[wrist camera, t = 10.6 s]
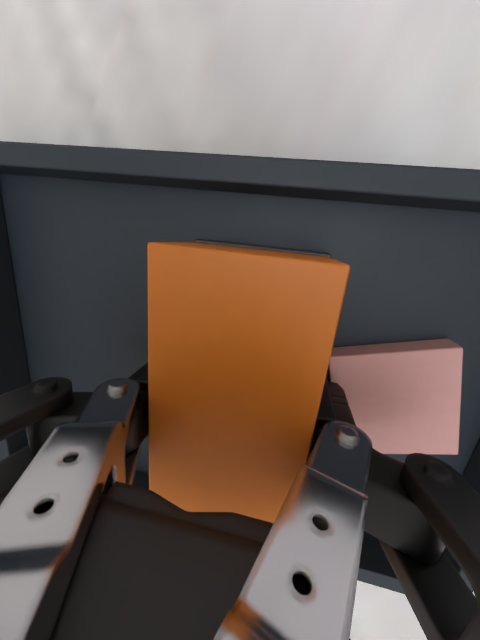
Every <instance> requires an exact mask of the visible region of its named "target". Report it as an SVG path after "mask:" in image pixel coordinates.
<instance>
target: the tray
mask: <svg viewBox="0 0 480 640" xmlns="http://www.w3.org/2000/svg"><path fill="white" fill-rule="evenodd" d="M195 239H206V240H215V241H224V242H234V243H243V244H252V245H261V246H271V247H280V248H289V249H298V250H308V251H317V252H326V253H330V254H331V255H332V258H333V259H335V260H338V261H340V262H343V263H345V264H348V265H350V272H349V276H348V281H347V285H346V290H345V294H344V299H343V303H342V308H341V312H340V317H339V321H338V326H337V330H336V335H335V339H334V343H333V347H346V346H358V345H371V344H383V343H396V342H409V341H421V340H434V339H446V338H447V339H450V340H451V341H453V342H455V343H456V344H458V345H459V346H461V347H462V348H463V363H462V384H461V406H460V427H459V449H458V454H457V455H449V454H427V455H430V456H433V457H435V458H437V459H439V460H441V461H443V462H445V463H447V464H448V465H450V466H451V467H453V468H454V469H455V470H456V471H457V472H459V473H460V474H461V475H462V476H463V477H464V478H465V479H466V480H467V481H468V482H469V484H470V485H471V486H472V487H473V488H474V489H475V490H476V491H477V492H478V493H479V494H480V170H476V169H459V168H442V167H426V166H409V165H392V164H375V163H358V162H341V161H324V160H307V159H290V158H273V157H257V156H240V155H223V154H206V153H189V152H172V151H155V150H138V149H121V148H104V147H88V146H71V145H54V144H37V143H20V142H3V141H0V395H2V394H4V393H7V392H9V391H12V390H14V389H17V388H19V387H22V386H24V385H27V384H29V383H32V382H34V381H37V380H40V379H44V378H50V377H63V378H67V379H69V380H70V381H71V382H72V389H73V392H94V390H95V389H96V388H97V386H98V385H100V384H101V383H103V382H105V381H108V380H111V379H115V378H129V377H130V376H131V375H132V374H134V373H135V372H136V371H137V370H138V369H140V368H141V367H142V366H144V364H146V363H147V362H148V254H147V244H148V243H149V242H195ZM326 376H327V380H328V371H327V375H326ZM27 445H29V443H28V438H27V432H26V428H25V429H23V430H21V431H19V432H17V433H16V434H14V435H12V436H10V437H8V438H6V439H4V440H2V441H0V461H1V460H3V459H4V458H6V457H8V456H10V455H11V454H13V453H15V452H17V451H18V450H20V449H22V448H23V447H25V446H27ZM384 455H387V456H389V457H391V458H394V459H396V460H398V461H401V462H403V463H404V462H405V459H406V457H407V456H408V455H409V454H384ZM133 486H137V487H140V488H144V489H148V490H149V439H146V438H145V439H144V440H143V442H142V443H141V453H140V457H139V461H138V465H137V469H136V473H135V477H134V481H133ZM443 551H444V552H445V554H446V555H447V557H448V558H449V560H450V561H451V563H452V564H453V565H454V567H455V568H456V570H457V571H458V573H459V574H460V576H461V577H462V579H463V580H464V581H465V583H466V584H467V586H468V587H469V589H470V590H471V592H473V588H472V586H471V584H470V582H469V580H468V578H467V577H466V575H465V574H464V572H463V571H462V569H461V568H460V567H459V565H458V564H457V562H456V561H455V559H454V558H453V557H452V555H451V554H450V552H449V551H448V549H447V548H446V547H445V548H444V550H443ZM357 580H359V581H362V582H366V583H369V584H372V585H376V586H379V587H383V588H386V589H389V590H393V591H396V592H399V593H403V594H405V593H404V591H403V589H402V587H401V585H400V583H399V581H398V579H397V577H396V575H395V573H394V571H393V569H392V567H391V565H390V563H389V561H388V559H387V557H386V555H385V553H384V551H383V549H382V546H381V544H380V541H379V539H377V538H376V537H374V536H372V535H370V534H369V533H367V532H365V531H364V534H363V541H362V548H361V556H360V563H359V570H358V578H357Z"/></svg>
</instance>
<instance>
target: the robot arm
mask: <svg viewBox="0 0 480 640" xmlns="http://www.w3.org/2000/svg"><path fill="white" fill-rule="evenodd" d="M348 405H349V404H348V401H347V399H346V395H345V392H344V389H343V388H342V387H341V386H340V385H339V384H338V383H335V382H331V381H328V380H327V376H326V379H325V384H324V388H323V393H322V397H321V402H320V406H319V411H318V415H317V420H316V424H315V429H314V433H313V438H312V442H311V446H310V451H309V455H308V460H307V464H305V463H303V464H302V465H301V467H300V469H299V471H298V473H297V475H296V477H295V479H294V481H293V484H292V486H291V488H290V490H289V492H288V494H287V496H286V498H285V500H284V502H283V505H282V507H281V509H280V511H279V513H278V515H277V517H276V519H275V521H274V523H271V522H267V521H264V520H260V519H256V518H253V517H249V516H245V515H241V514H238V513H234V512H188V511H185V510H183V509H181V508H179V507H178V506H176V505H175V504H173V503H171V502H170V501H168V500H166V499H165V498H163V497H162V496H160V495H158V494H157V493H155V492H153V491H152V490H148V489H144V488H140V487H137V486H133V481H134V477H135V473H136V469H137V465H138V461H139V457H140V453H141V443H142V442H143V440H144V439H145V438H146V439H149V407H148V362H147V363H146V364H144V366H142V367H141V368H140V369H138V370H137V371H136V372H135V373H134V374H132V375H131V376H130V377H129V378H115V379H111V380H108V381H105V382H103V383H101V384H100V385H98V386H97V388H96V389H95V390H94V392H73V389H72V382H71V381H70V380H69V379H67V378H63V377H50V378H44V379H40V380H37V381H34V382H32V383H29V384H27V385H24V386H22V387H19V388H17V389H14V390H12V391H9V392H7V393H4V394H2V395H0V441H2V440H4V439H6V438H8V437H10V436H12V435H14V434H16V433H17V432H19V431H21V430H23V429H25V428H26V432H27V438H28V443H29V445H27V446H25V447H23V448H22V449H20V450H18V451H17V452H15V453H13V454H11V455H10V456H8V457H6V458H4V459H3V460H1V461H0V640H350V638H349V636H350V629H351V621H352V614H353V607H354V600H355V592H356V585H357V578H358V570H359V563H360V556H361V548H362V541H363V534H364V531H365V532H367V533H369V534H370V535H372V536H374V537H376V538H377V539H379V541H380V544H381V546H382V549H383V551H384V553H385V555H386V557H387V559H388V561H389V563H390V565H391V567H392V569H393V571H394V573H395V575H396V577H397V579H398V581H399V583H400V585H401V587H402V589H403V591H404V593H405V595H406V597H407V599H408V601H409V603H410V605H411V607H412V609H413V611H414V613H415V615H416V617H417V619H418V621H419V623H420V625H421V627H422V629H423V631H424V633H425V635H426V637H427V639H428V640H480V494H479V493H478V492H477V491H476V490H475V489H474V488H473V487H472V486H471V485H470V484H469V482H468V481H467V480H466V479H465V478H464V477H463V476H462V475H461V474H460V473H459V472H457V471H456V470H455V469H454V468H453V467H451V466H450V465H448V464H447V463H445V462H443V461H441V460H439V459H437V458H435V457H433V456H430V455H427V454H423V453H411V454H409V455H408V456H407V457H406V459H405V462H404V463H403V462H401V461H398V460H396V459H394V458H391V457H389V456H387V455H384V454H382V453H380V452H378V451H377V450H375V449H374V448H372V441H371V439H370V438H369V436H368V435H367V434H366V433H365V432H364V431H363V430H361V429H360V428H358V427H357V426H356V424H355V421H354V418H353V415H352V413H351V410H350V407H349V406H348ZM445 547H446V548H447V549H448V551H449V552H450V554H451V555H452V557H453V558H454V559H455V561H456V562H457V564H458V565H459V567H460V568H461V569H462V571H463V572H464V574H465V575H466V577H467V578H468V580H469V582H470V584H471V586H472V588H473V591H474V593H475V596H474V595H473V593H472V592H471V590H470V589H469V587H468V586H467V584H466V583H465V581H464V580H463V579H462V577H461V576H460V574H459V573H458V571H457V570H456V568H455V567H454V565H453V564H452V563H451V561H450V560H449V558H448V557H447V555H446V554H445V552H444V551H443V550H444V548H445Z"/></svg>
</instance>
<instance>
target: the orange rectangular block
mask: <svg viewBox="0 0 480 640" xmlns="http://www.w3.org/2000/svg"><path fill="white" fill-rule="evenodd" d="M147 254H148V407H149V490H152V491H153V492H155V493H157V494H158V495H160V496H162V497H163V498H165V499H166V500H168V501H170V502H171V503H173V504H175V505H176V506H178V507H179V508H181V509H183V510H185V511H188V512H234V513H238V514H241V515H245V516H249V517H253V518H256V519H260V520H264V521H267V522H271V523H274V521H275V519H276V517H277V515H278V513H279V511H280V509H281V507H282V505H283V502H284V500H285V498H286V496H287V494H288V492H289V490H290V488H291V486H292V484H293V481H294V479H295V477H296V475H297V473H298V471H299V469H300V467H301V465H302V464H303V463H305V464H307V460H308V455H309V451H310V446H311V442H312V438H313V433H314V429H315V424H316V420H317V415H318V411H319V406H320V402H321V397H322V393H323V388H324V384H325V379H326V375H327V370H328V366H329V361H330V357H331V352H332V348H333V343H334V339H335V335H336V330H337V326H338V321H339V317H340V312H341V308H342V303H343V299H344V294H345V290H346V285H347V281H348V276H349V272H350V265H348V264H345V263H343V262H340V261H338V260H335V259H333V258H332V255H331V254H330V253H326V252H317V251H308V250H298V249H289V248H280V247H271V246H261V245H252V244H243V243H234V242H224V241H215V240H206V239H195V242H149V243H148V244H147Z"/></svg>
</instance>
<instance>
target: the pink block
mask: <svg viewBox="0 0 480 640" xmlns="http://www.w3.org/2000/svg"><path fill="white" fill-rule="evenodd" d="M462 363H463V348H462V347H461V346H459V345H458V344H456V343H455V342H453V341H451V340H450V339H447V338H446V339H434V340H421V341H409V342H396V343H383V344H371V345H358V346H346V347H333V348H332V352H331V357H330V361H329V366H328V370H327V371H328V381H331V382H335V383H338V384H339V385H340V386H341V387H342V388H343V389H344V392H345V395H346V399H347V401H348V404H349V405H348V406H349V407H350V410H351V413H352V415H353V418H354V421H355V424H356V426H357V427H358V428H360V429H361V430H363V431H364V432H365V433H366V434H367V435H368V436H369V438H370V439H371V441H372V448H374V449H375V450H377V451H378V452H380V453H382V454H411V453H423V454H449V455H457V454H458V449H459V427H460V406H461V384H462Z"/></svg>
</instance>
